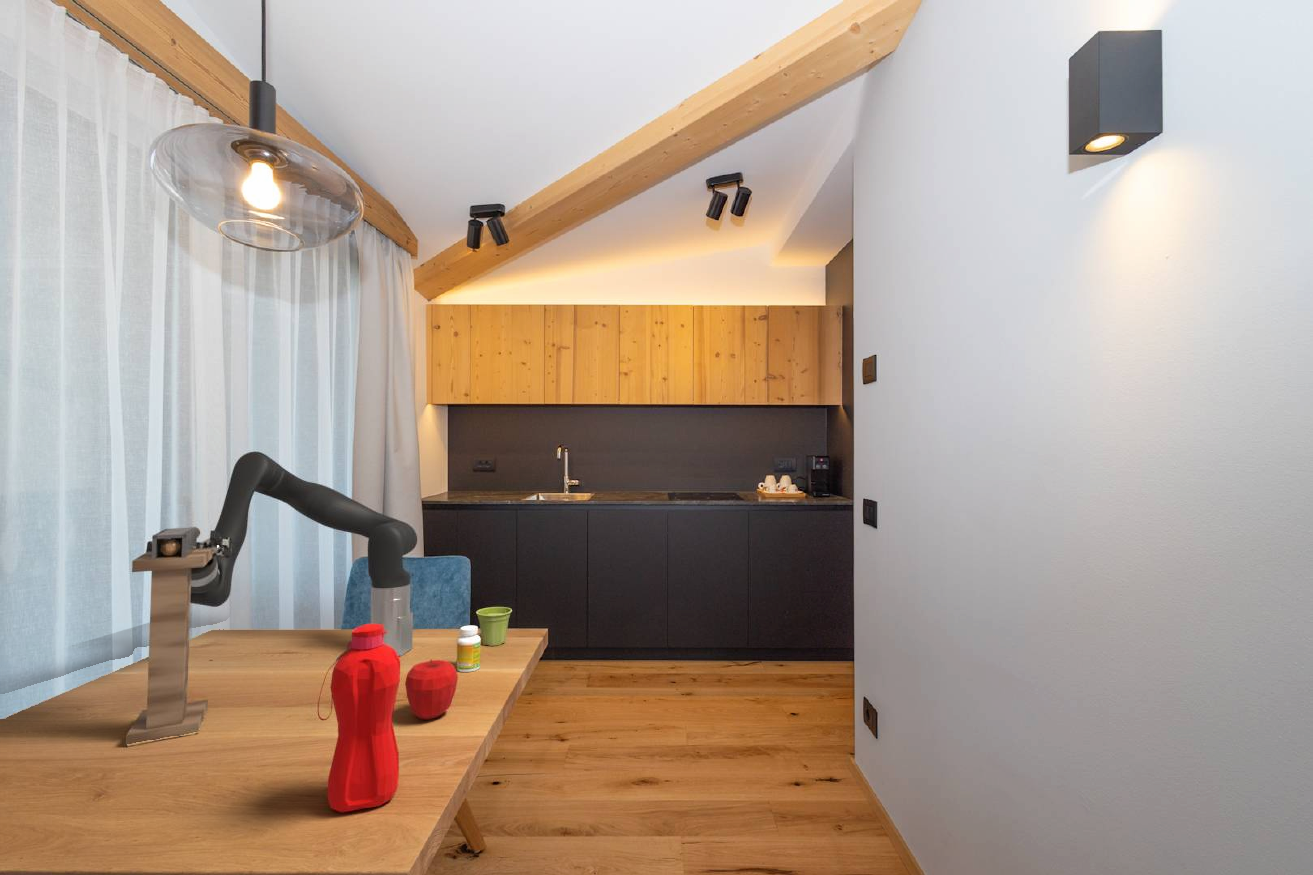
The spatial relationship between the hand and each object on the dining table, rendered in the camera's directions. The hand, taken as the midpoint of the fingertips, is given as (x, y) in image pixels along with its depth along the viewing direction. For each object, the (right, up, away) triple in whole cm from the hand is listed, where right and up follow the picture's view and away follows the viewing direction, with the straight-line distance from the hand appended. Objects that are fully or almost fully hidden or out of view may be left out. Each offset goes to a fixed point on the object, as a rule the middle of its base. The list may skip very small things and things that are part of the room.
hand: (186, 535), depth 123 cm
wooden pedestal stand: (+6, -34, -12) cm, 36 cm away
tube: (+3, -1, -5) cm, 6 cm away
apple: (+53, -34, -7) cm, 63 cm away
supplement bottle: (+52, -35, +19) cm, 66 cm away
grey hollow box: (+7, -2, -11) cm, 13 cm away
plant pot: (+53, -36, +39) cm, 75 cm away
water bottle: (+53, -33, -35) cm, 71 cm away
